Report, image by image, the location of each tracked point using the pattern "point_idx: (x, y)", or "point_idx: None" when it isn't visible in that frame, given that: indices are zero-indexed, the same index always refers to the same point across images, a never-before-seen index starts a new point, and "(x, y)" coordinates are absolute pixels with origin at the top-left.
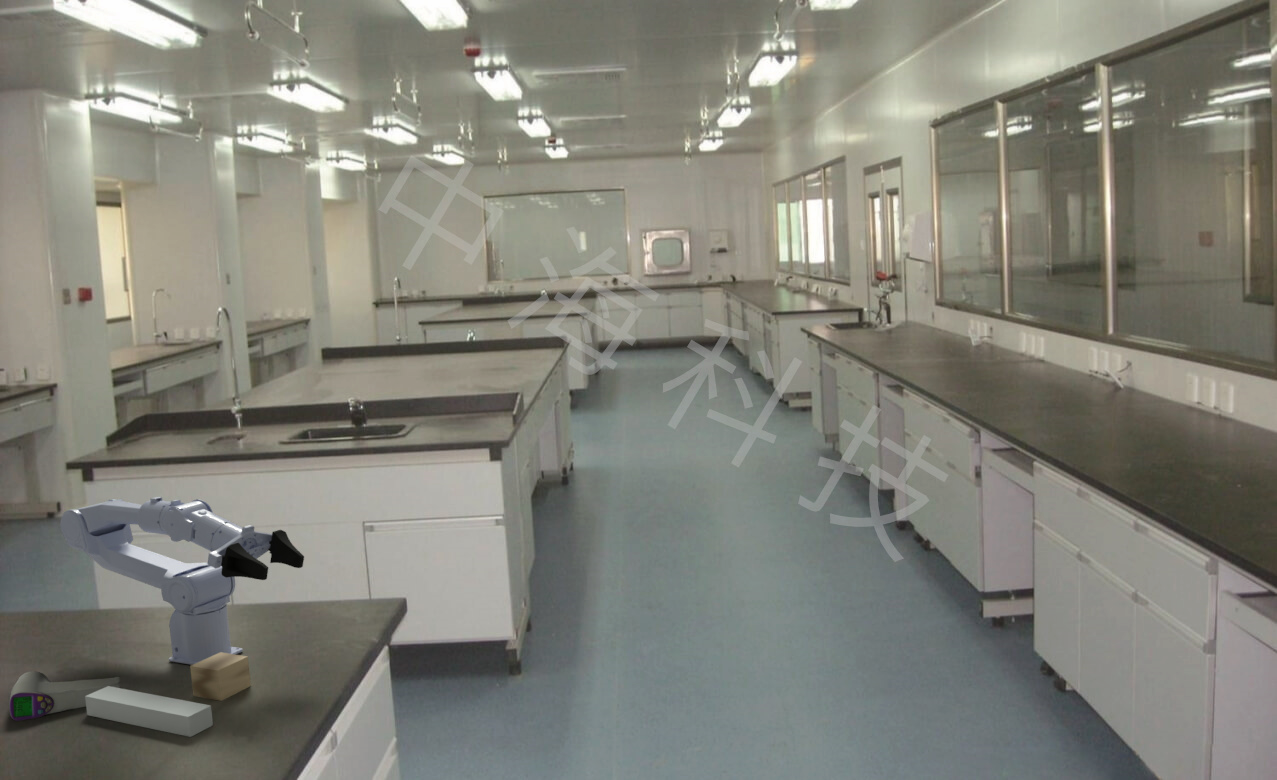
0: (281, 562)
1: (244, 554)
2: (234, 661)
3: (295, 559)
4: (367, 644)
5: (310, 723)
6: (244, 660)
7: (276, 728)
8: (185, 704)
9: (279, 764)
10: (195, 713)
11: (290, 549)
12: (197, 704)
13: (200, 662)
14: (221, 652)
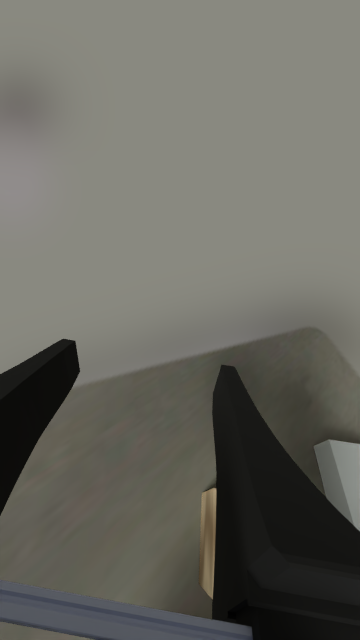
0: (25, 460)
1: (272, 453)
2: None
3: (65, 371)
4: None
5: (255, 344)
6: None
7: (278, 368)
8: (352, 486)
9: (316, 330)
10: (353, 443)
11: (34, 377)
12: (339, 464)
13: None
14: (212, 593)
